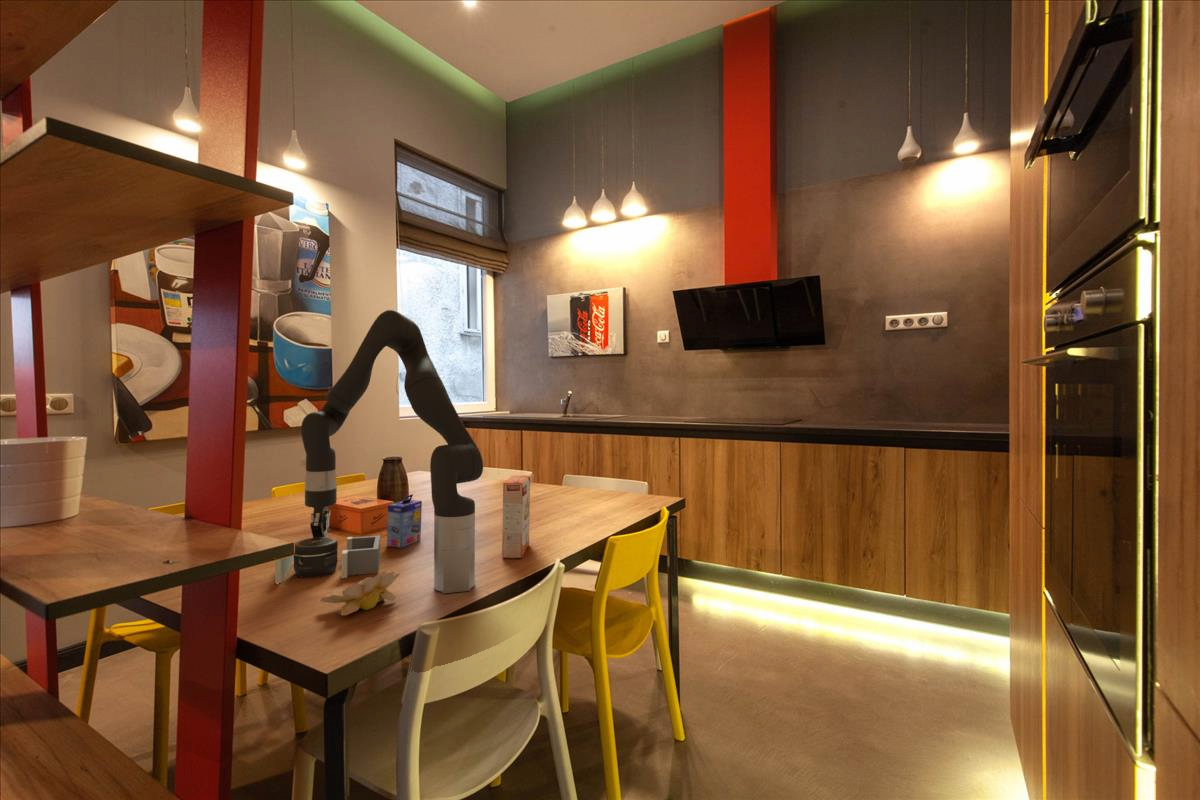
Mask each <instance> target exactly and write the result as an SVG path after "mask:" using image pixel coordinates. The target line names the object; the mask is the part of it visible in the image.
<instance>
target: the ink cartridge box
mask: <svg viewBox="0 0 1200 800" xmlns="http://www.w3.org/2000/svg"><path fill="white" fill-rule="evenodd" d="M413 496H414V494H413V493H412V494H409V495H406V496H405V497H404V499H403V500H400V501H398V502H397V501H396V502H394V503H391V504H388V505H387V522H386V523H387V533H386V534H387V535H386V537H387V538H386V546H387V547H392V548H393V547H394V548H398V549H402V548H404V547H407V546H409V545H411V544H414V543H417V542H420V541H421V538H422V537H421V535H422V513H423V510H422V508H423V507H422V506H423V505H422V503H423V501H422V500H419V499H418V500H417V499H413Z"/></svg>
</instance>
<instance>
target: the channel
mask: <svg viewBox="0 0 1200 800" xmlns="http://www.w3.org/2000/svg"><path fill="white" fill-rule="evenodd" d="M293 561H294V555H293V556H291V557H287V558H284V559H280V560H277V561H275V560H274V583H276V584H277V583H281V582H282V581H284V580H285V579H284V577H285V575H286V574H287V572H288V570H289V568H290V566H291V564H292V563H293ZM380 563H381V535H369V536H368V535H367V536H356V537H353V536H347V538H346V549H345V550H344V549H343V550H342V551H341V579H347V578H348V577H349V576H356V574H358V575H367V573H369V574H377V573H376V572H378V573H379V571H378V570H380ZM288 573H289V572H288ZM287 575H288V574H287ZM287 575H286V576H287ZM285 578H286V577H285ZM283 579H284V580H283ZM282 583H283V582H282ZM282 583H281V584H282ZM277 585H278V584H277Z"/></svg>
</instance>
